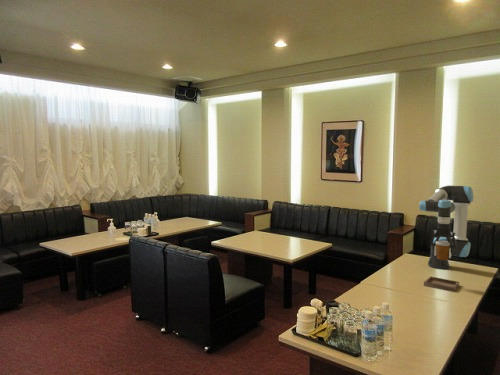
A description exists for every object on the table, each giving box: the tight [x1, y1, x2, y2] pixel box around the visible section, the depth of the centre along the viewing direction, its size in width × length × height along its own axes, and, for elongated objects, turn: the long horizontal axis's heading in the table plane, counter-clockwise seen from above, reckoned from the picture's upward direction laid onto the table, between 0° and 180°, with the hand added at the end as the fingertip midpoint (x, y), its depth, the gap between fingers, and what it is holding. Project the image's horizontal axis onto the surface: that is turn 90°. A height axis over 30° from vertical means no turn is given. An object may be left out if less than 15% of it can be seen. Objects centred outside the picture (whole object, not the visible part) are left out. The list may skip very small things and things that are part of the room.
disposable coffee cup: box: [436, 240, 450, 261], centre depth 239 cm, size 10×10×12 cm
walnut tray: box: [423, 276, 460, 293], centre depth 240 cm, size 16×18×2 cm
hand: (442, 256), depth 240 cm, fingers closed on disposable coffee cup, 8 cm apart
